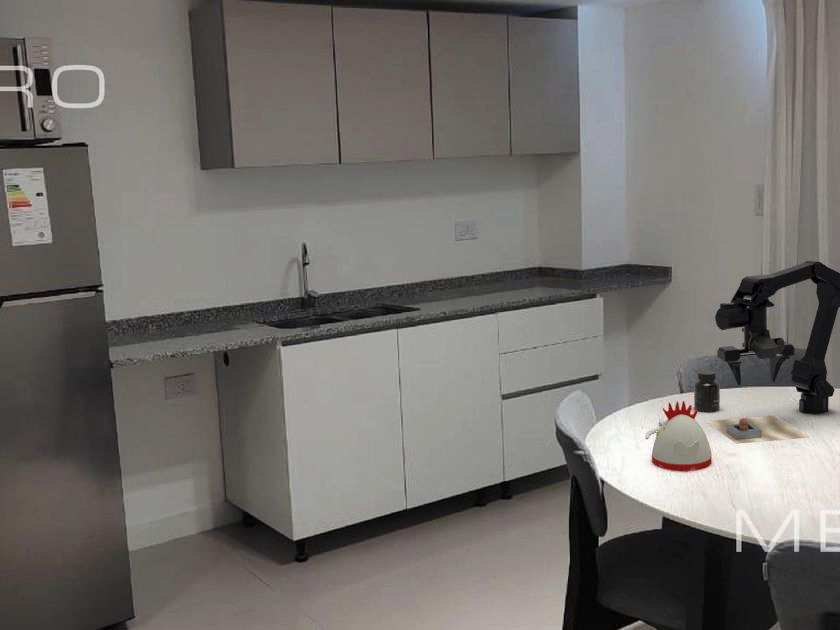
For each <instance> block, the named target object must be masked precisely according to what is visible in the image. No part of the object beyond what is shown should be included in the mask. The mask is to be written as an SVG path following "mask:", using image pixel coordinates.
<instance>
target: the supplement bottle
mask: <svg viewBox="0 0 840 630" xmlns="http://www.w3.org/2000/svg"><path fill="white" fill-rule="evenodd" d="M716 380H717V373H716V372H715V371H713V370H712V371H711V370H700V371H697V381H695V383H694V385H693V389H694V391H693V392H694V393H693V394H694V396H693V397H694V399H693V401H694V402H693V405H694V406H693V407H694V411H695V410H696V409H697V410H698V412H699V413H707V414H710V413H716V412H719V411H720V409H721V405H720V404H721V403H720V400H721V396H720V394H721V392H720V390H721V389H720V388H721V387H720V383H719V382H718V381H716ZM698 412H697V413H698Z"/></svg>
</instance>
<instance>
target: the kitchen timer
mask: <svg viewBox="0 0 840 630" xmlns="http://www.w3.org/2000/svg"><path fill="white" fill-rule="evenodd" d="M681 403H682V404H681V408H680V404H679V401H678V400H676V404H675V408H674V409H673V406H672V404H671V402H668V410H666V408H664V407H662V411H663V413H664V414H665V416H666V418H667V419H666V420H665V422H664V423H663V424H662V425H661V427H660V426H659V427H660V429H659V431H658V433H657V434H655V439H654V443H653V447H652V451H651V462H652V464H653V465H654V466H656V467H658V468H661V469H662V470H663V469H664V470H668V471H669V470H670V471H675V472H677V471H678V472H690V471H691V472H693V471H699V470H703V469H706V468H709V467H710V466H711V465H712V449H711V445H710V443H709V440H708V437H707V434H706V432H705V430H704V429H703V427H702V426H701V425H700V424H699V422H697V420H696V419H695V418H696V417H697V415H698V410H697V409H696V410H694V411H693V413H692V414H691V412H692V407H693V406H692V405H691V404H690V405H689V406H688V407H686V402H685V401H684V400H682V402H681Z"/></svg>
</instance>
